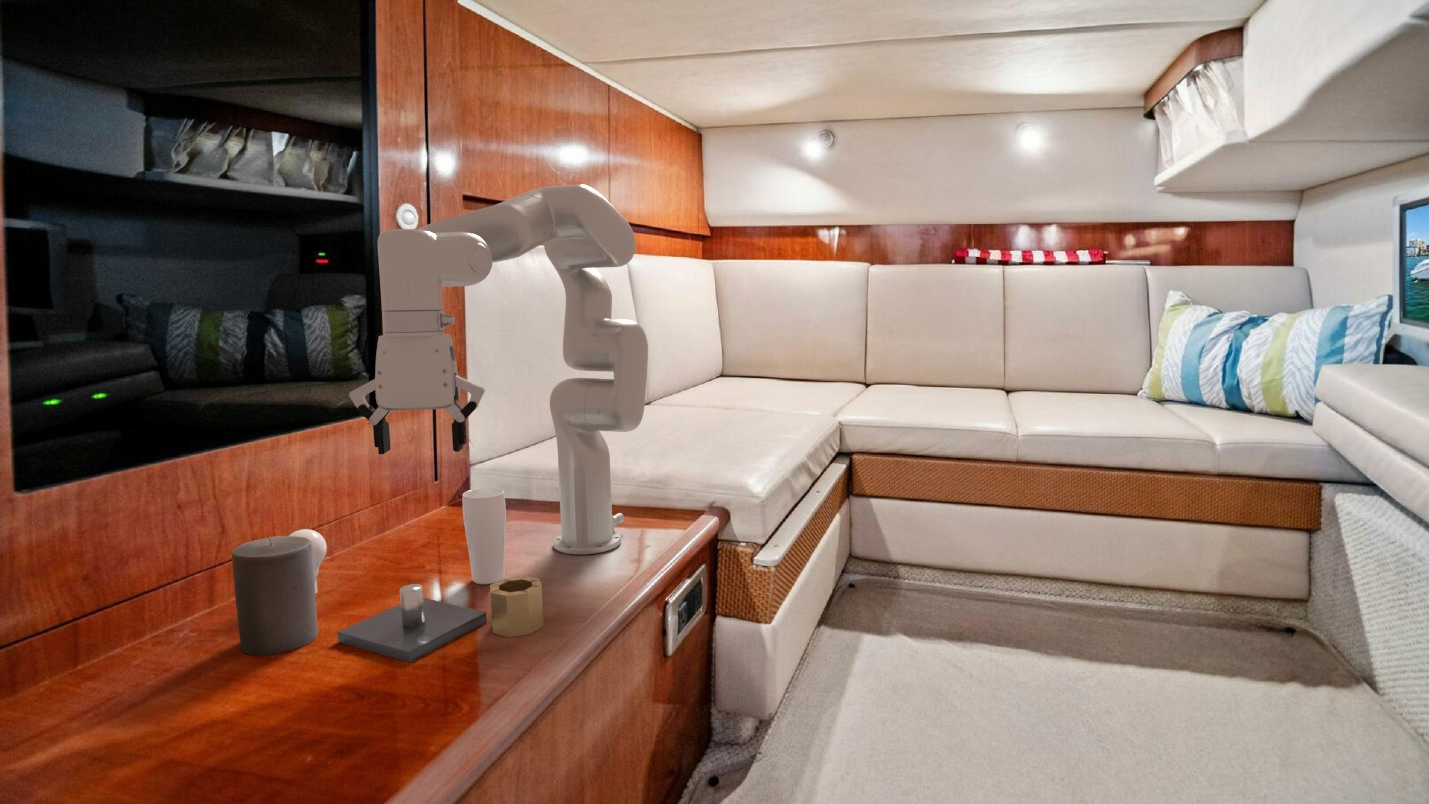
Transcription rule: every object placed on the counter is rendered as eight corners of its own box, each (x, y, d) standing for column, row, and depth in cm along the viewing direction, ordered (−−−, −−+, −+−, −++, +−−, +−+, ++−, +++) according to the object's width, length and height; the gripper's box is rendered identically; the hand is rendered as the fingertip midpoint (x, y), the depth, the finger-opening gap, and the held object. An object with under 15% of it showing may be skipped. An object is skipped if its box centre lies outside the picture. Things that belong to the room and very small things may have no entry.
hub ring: (515, 612, 118) (513, 574, 117) (552, 620, 115) (550, 581, 114) (482, 630, 112) (479, 590, 111) (520, 639, 109) (517, 598, 108)
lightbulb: (296, 590, 129) (290, 525, 127) (337, 588, 129) (331, 523, 128) (278, 605, 122) (271, 537, 121) (321, 603, 123) (314, 535, 121)
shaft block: (418, 605, 121) (415, 565, 120) (486, 622, 115) (484, 579, 114) (338, 642, 109) (334, 597, 108) (409, 662, 103) (406, 615, 102)
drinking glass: (497, 588, 128) (492, 498, 126) (459, 586, 129) (453, 497, 127) (516, 573, 134) (511, 488, 132) (479, 571, 136) (474, 486, 134)
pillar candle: (237, 662, 104) (227, 552, 102) (242, 634, 112) (232, 532, 110) (320, 646, 108) (311, 541, 106) (318, 620, 117) (310, 522, 115)
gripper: (485, 322, 109) (491, 444, 112) (354, 324, 107) (364, 448, 110) (475, 324, 102) (482, 454, 104) (335, 326, 100) (345, 459, 102)
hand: (421, 451), depth 107 cm, fingers open, 9 cm apart
